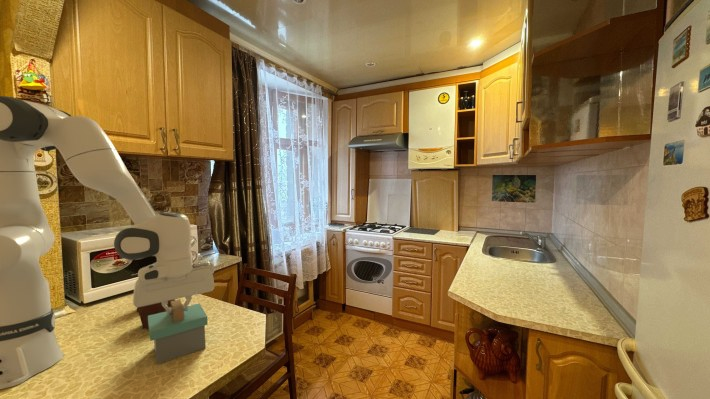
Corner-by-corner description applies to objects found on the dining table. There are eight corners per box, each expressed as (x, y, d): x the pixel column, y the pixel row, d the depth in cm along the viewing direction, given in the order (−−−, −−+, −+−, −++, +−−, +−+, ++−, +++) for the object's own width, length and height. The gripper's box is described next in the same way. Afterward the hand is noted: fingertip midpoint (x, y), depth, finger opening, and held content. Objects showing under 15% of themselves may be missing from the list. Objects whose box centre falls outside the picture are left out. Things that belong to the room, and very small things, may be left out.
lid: (150, 341, 75) (149, 319, 74) (148, 323, 84) (147, 304, 84) (207, 324, 83) (206, 304, 83) (199, 310, 93) (199, 293, 92)
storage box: (156, 364, 76) (155, 336, 76) (154, 348, 84) (152, 322, 84) (205, 348, 84) (204, 322, 83) (199, 334, 92) (198, 310, 91)
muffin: (184, 315, 105) (182, 289, 104) (163, 331, 94) (162, 302, 93) (152, 316, 105) (151, 290, 105) (128, 331, 94) (126, 302, 94)
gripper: (211, 258, 92) (213, 299, 92) (131, 271, 79) (134, 318, 80) (216, 262, 87) (217, 306, 87) (131, 276, 74) (134, 327, 75)
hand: (177, 312), depth 83 cm, fingers closed on lid, 2 cm apart
